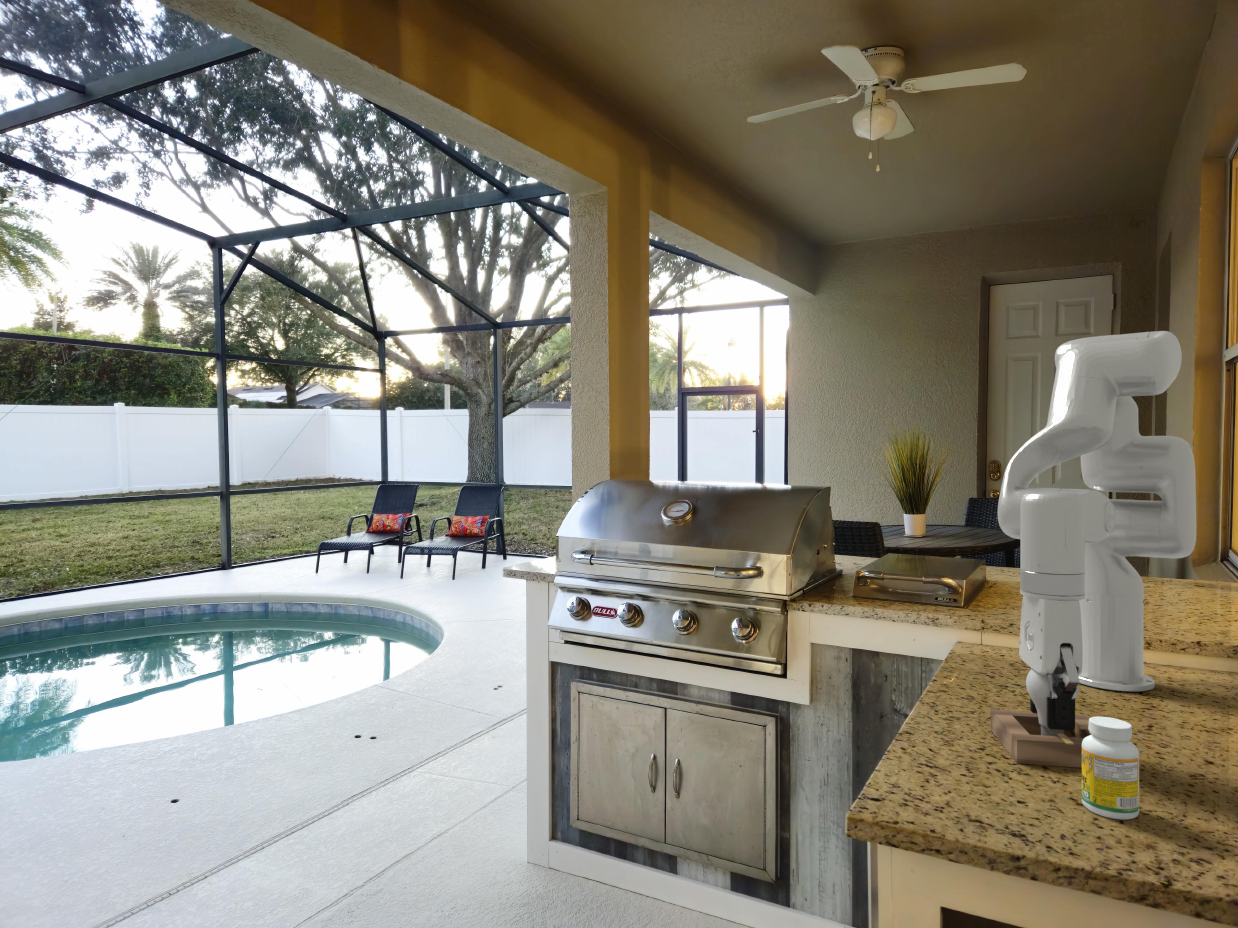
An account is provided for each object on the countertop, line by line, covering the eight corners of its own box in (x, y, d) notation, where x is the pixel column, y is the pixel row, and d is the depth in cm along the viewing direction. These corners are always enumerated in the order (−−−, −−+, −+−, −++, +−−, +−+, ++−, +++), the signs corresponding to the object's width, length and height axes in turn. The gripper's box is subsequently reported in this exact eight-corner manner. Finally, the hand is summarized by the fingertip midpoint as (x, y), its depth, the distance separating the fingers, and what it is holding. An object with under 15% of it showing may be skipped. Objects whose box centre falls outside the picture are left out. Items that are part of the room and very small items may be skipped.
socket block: (990, 730, 109) (990, 708, 109) (1087, 736, 107) (1087, 713, 107) (1018, 764, 97) (1018, 739, 97) (1128, 772, 94) (1128, 746, 94)
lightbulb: (1035, 752, 99) (1035, 667, 99) (1019, 736, 106) (1019, 656, 105) (1087, 755, 98) (1086, 669, 98) (1068, 738, 104) (1067, 657, 104)
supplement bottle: (1135, 825, 81) (1136, 734, 81) (1077, 810, 84) (1077, 723, 84) (1142, 807, 85) (1142, 721, 85) (1086, 794, 88) (1086, 710, 88)
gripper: (1002, 574, 111) (1002, 699, 111) (1044, 594, 94) (1044, 742, 94) (1058, 576, 110) (1058, 702, 110) (1111, 596, 93) (1111, 746, 93)
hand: (1051, 719), depth 102 cm, fingers closed on lightbulb, 5 cm apart
